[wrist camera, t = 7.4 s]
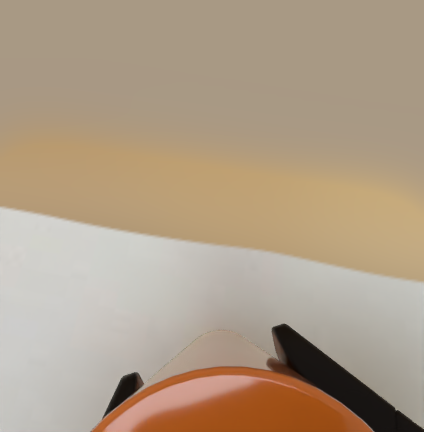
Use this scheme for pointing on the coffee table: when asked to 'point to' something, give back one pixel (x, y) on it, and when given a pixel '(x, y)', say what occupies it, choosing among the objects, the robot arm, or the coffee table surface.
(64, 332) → the coffee table surface
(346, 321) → the coffee table surface
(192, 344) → the orange upright cylinder
